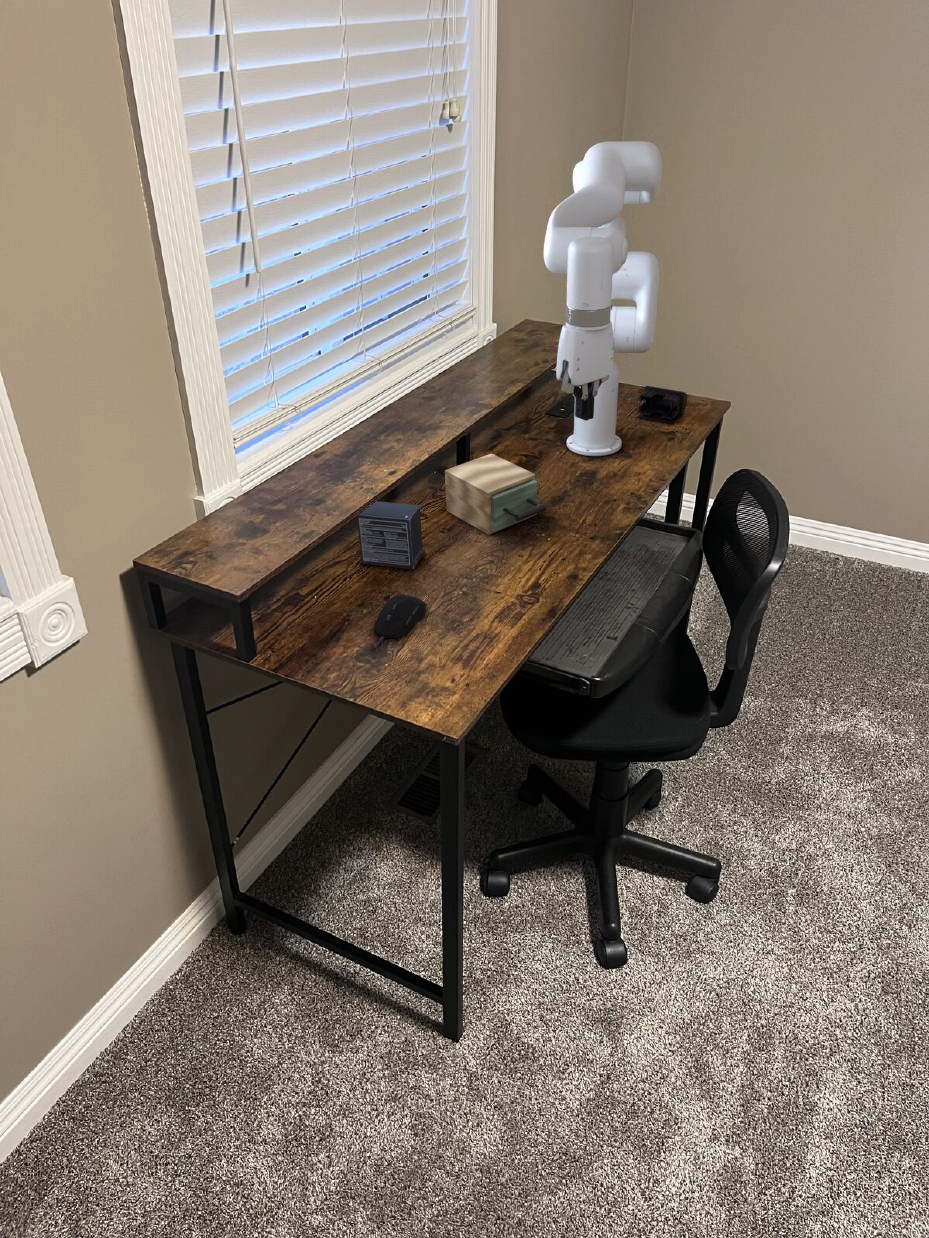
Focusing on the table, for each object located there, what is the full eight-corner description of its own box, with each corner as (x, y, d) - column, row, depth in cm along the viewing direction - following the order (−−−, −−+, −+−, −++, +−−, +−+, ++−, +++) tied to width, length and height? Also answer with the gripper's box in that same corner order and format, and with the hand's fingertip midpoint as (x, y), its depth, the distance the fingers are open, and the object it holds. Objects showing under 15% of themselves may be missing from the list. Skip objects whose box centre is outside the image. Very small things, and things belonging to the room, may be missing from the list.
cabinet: (535, 515, 186) (535, 474, 181) (488, 535, 180) (487, 492, 175) (492, 493, 195) (491, 453, 190) (446, 511, 189) (444, 470, 184)
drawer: (553, 523, 181) (554, 489, 177) (511, 541, 176) (511, 507, 172) (496, 494, 193) (496, 461, 189) (455, 510, 188) (454, 477, 183)
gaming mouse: (357, 645, 151) (355, 624, 149) (400, 599, 162) (398, 580, 160) (391, 653, 149) (389, 633, 146) (432, 606, 160) (431, 587, 157)
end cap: (685, 415, 227) (688, 388, 223) (674, 425, 222) (677, 398, 219) (648, 408, 232) (650, 382, 228) (636, 417, 227) (638, 391, 223)
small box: (425, 553, 175) (421, 503, 169) (414, 570, 170) (410, 520, 164) (372, 547, 178) (367, 498, 172) (360, 564, 172) (354, 514, 167)
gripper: (603, 302, 164) (598, 402, 174) (540, 320, 156) (539, 422, 167) (634, 311, 159) (627, 413, 169) (571, 329, 151) (568, 434, 162)
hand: (584, 417), depth 168 cm, fingers closed
